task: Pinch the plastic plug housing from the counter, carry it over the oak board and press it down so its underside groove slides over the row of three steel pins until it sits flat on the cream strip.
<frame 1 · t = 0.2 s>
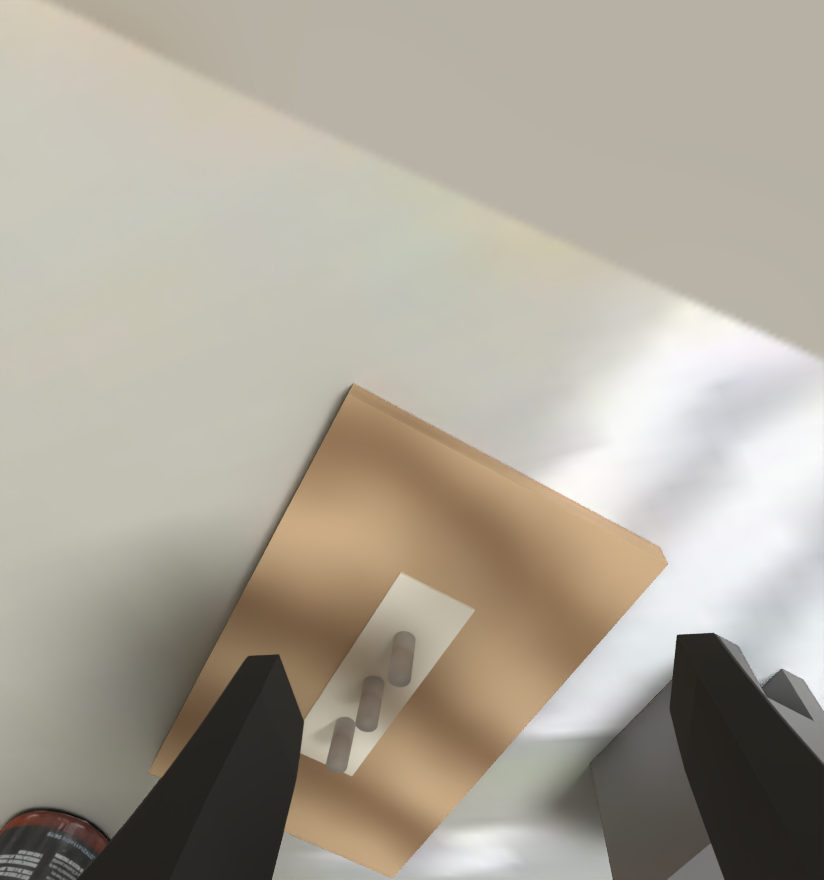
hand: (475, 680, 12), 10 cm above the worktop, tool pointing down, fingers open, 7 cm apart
plug housing: (690, 723, 25), on the worktop
pin board: (377, 663, 25), on the worktop
supplement bottle: (66, 840, 32), on the worktop
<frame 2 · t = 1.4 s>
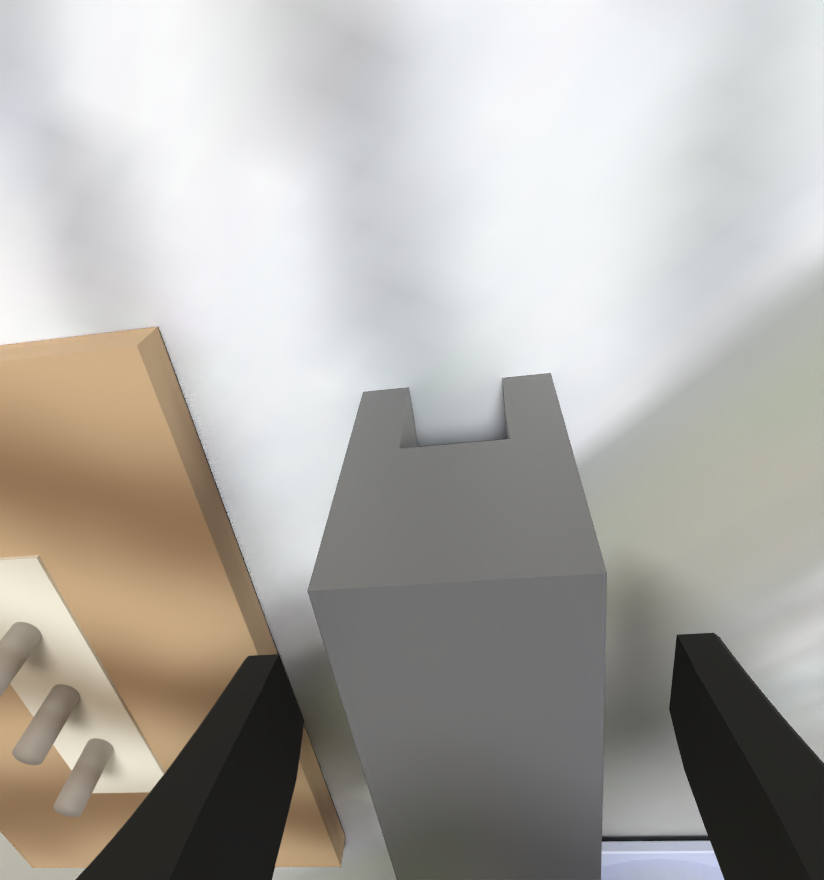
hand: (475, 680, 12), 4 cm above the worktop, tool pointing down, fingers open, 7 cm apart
plug housing: (472, 527, 16), on the worktop
pin board: (85, 661, 19), on the worktop
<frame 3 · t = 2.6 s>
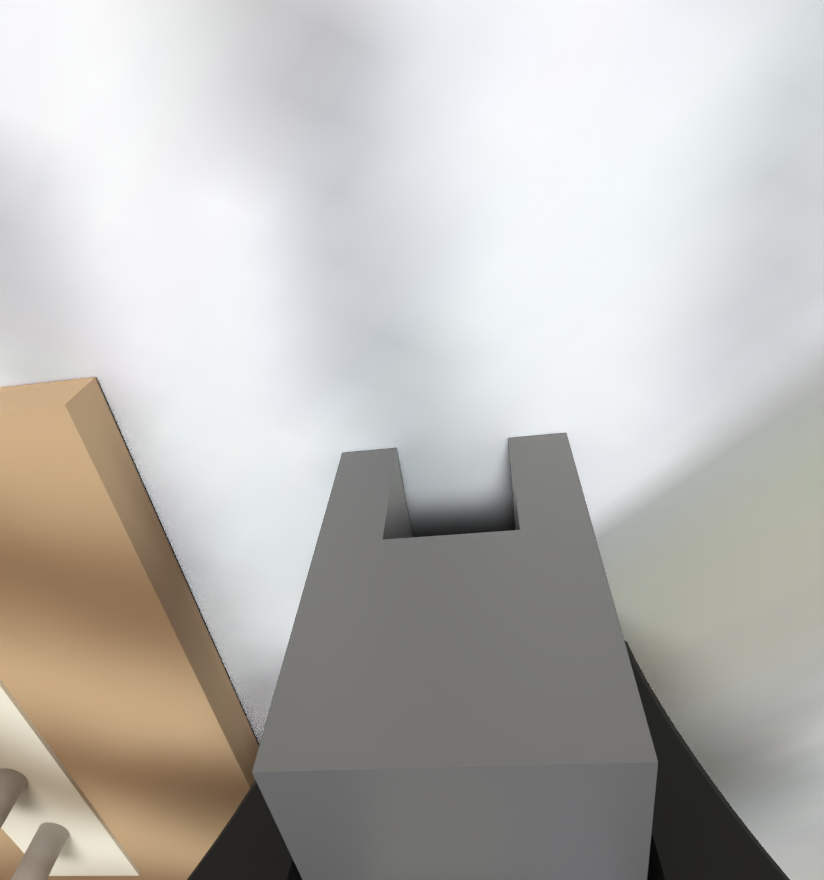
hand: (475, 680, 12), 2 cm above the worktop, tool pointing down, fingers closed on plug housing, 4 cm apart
plug housing: (472, 603, 13), on the worktop, touching gripper
pin board: (35, 737, 17), on the worktop
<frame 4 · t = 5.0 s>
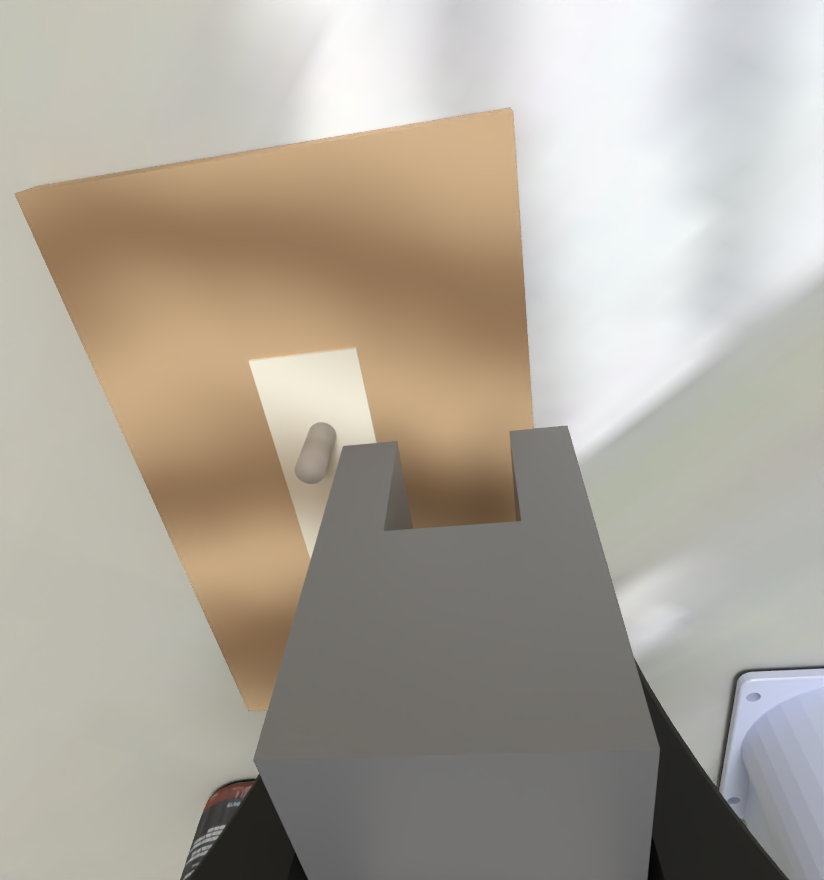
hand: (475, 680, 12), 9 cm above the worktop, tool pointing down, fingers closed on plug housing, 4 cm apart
plug housing: (473, 597, 13), point 7 cm above the worktop, touching gripper
pin board: (346, 482, 21), on the worktop
supplement bottle: (268, 804, 32), on the worktop
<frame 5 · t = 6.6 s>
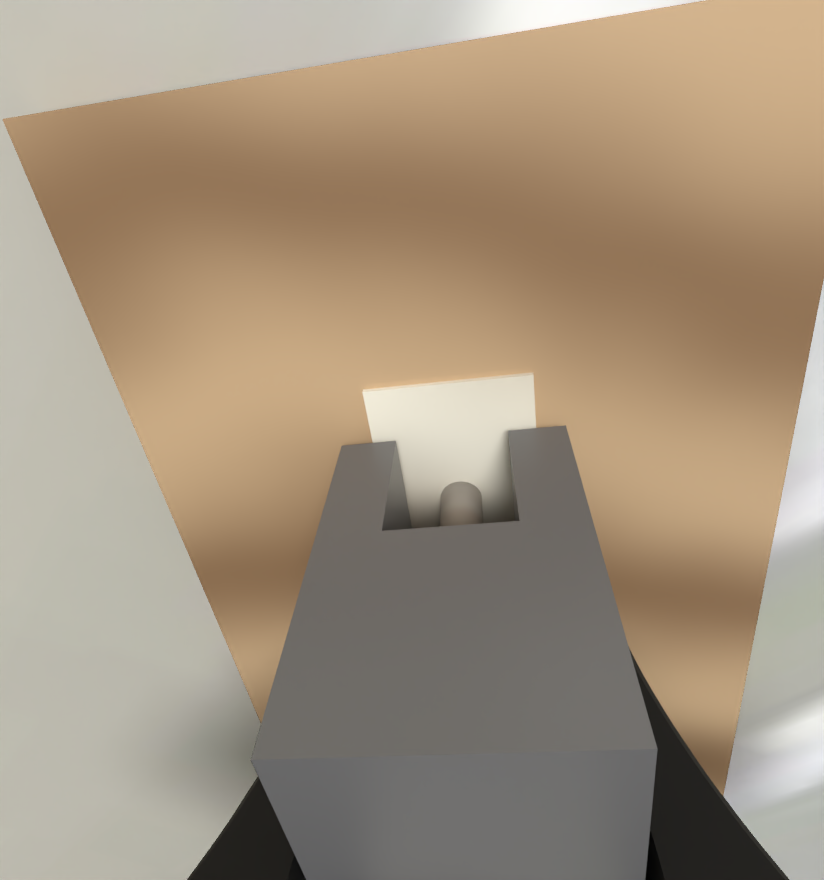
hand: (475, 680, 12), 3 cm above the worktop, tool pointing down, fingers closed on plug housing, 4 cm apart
plug housing: (472, 597, 13), point 1 cm above the worktop, touching gripper
pin board: (472, 556, 15), on the worktop
when the fingers open (3 cm above the worktop, at t = 7.7 s): plug housing stays where it is, resting on pin board.
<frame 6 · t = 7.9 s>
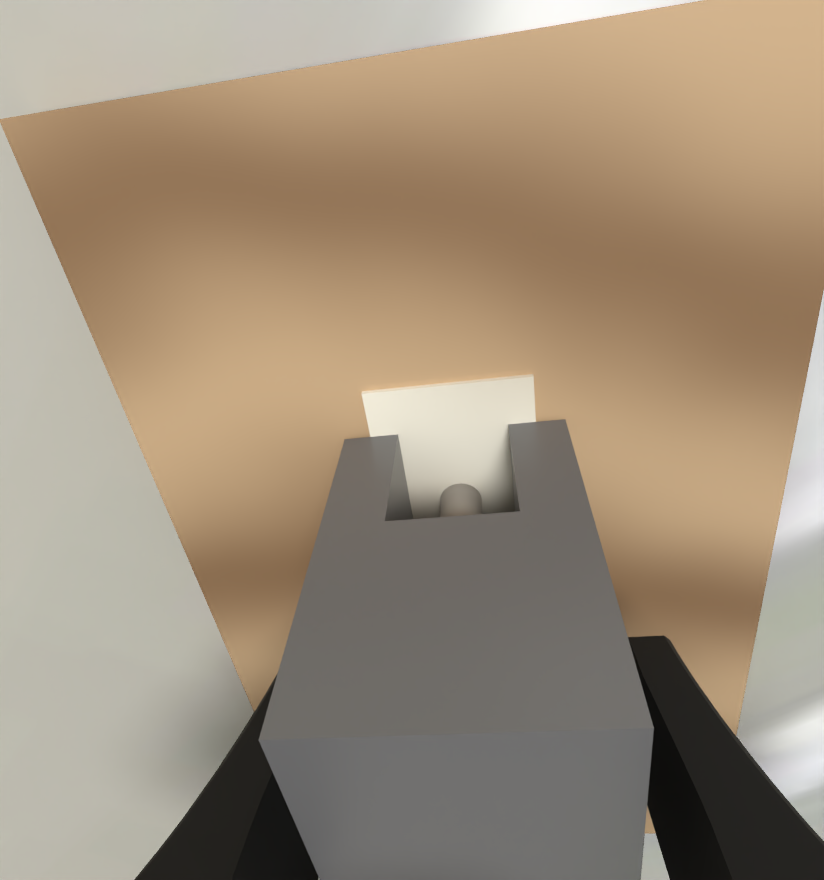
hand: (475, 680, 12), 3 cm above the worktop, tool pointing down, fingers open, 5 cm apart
plug housing: (472, 589, 14), point 1 cm above the worktop, touching pin board
pin board: (471, 558, 15), on the worktop
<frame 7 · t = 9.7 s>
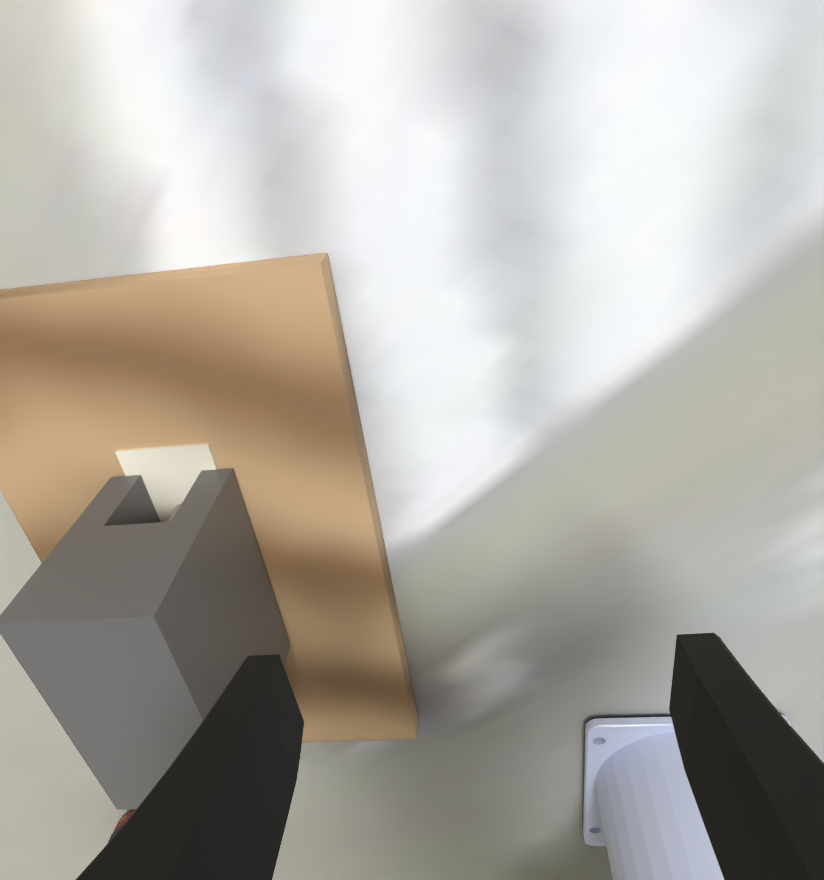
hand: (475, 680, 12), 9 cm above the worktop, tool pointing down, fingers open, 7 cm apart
plug housing: (208, 568, 22), point 1 cm above the worktop, touching pin board
pin board: (218, 548, 23), on the worktop
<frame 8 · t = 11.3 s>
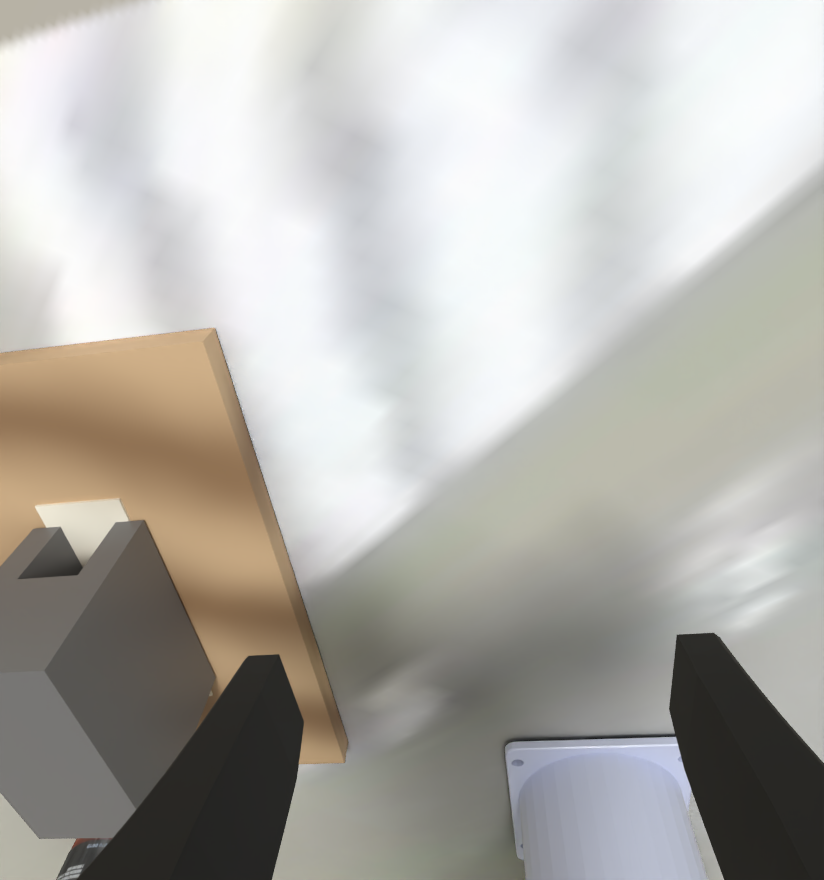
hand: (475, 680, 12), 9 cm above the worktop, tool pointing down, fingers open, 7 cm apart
plug housing: (131, 608, 23), point 1 cm above the worktop, touching pin board
pin board: (144, 589, 24), on the worktop
supplement bottle: (134, 842, 35), on the worktop
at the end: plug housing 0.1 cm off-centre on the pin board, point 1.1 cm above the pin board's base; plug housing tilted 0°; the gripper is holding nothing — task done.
